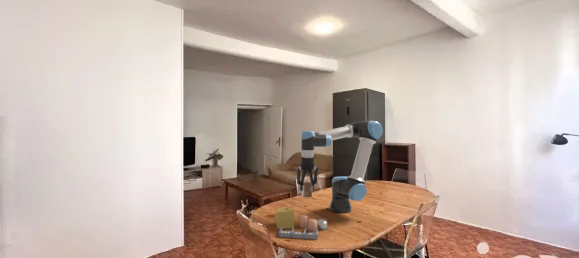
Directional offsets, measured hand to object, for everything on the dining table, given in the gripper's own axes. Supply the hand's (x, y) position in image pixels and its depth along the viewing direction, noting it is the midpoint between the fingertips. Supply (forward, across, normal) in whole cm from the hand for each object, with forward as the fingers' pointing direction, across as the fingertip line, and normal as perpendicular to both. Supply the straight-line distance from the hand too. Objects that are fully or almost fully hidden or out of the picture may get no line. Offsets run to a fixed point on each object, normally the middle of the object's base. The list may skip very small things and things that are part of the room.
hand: (306, 195), depth 158 cm
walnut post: (0, 0, 0) cm, 0 cm away
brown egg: (+18, +2, +2) cm, 18 cm away
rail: (+18, +9, +12) cm, 24 cm away
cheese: (+18, +12, -3) cm, 22 cm away
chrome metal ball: (+17, -7, +7) cm, 20 cm away
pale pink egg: (+18, -1, +9) cm, 20 cm away
